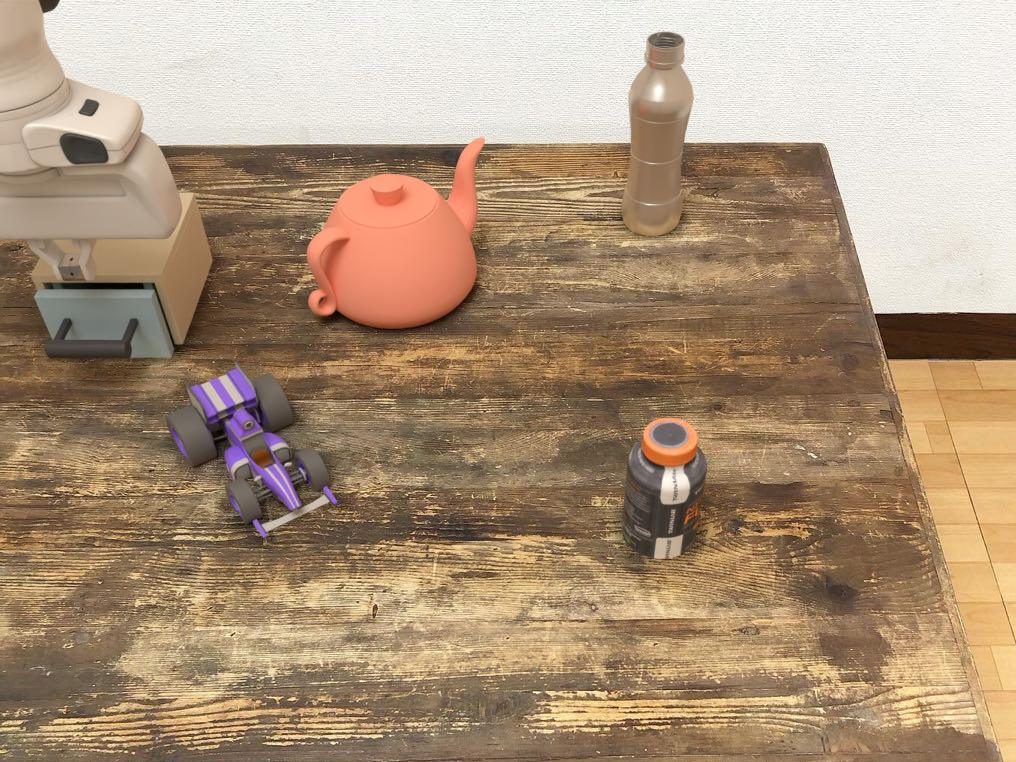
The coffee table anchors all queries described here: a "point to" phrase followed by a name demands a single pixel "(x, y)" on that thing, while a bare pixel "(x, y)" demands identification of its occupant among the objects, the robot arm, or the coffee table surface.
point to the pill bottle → (664, 490)
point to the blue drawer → (104, 321)
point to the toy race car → (248, 443)
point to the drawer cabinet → (152, 266)
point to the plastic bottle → (657, 137)
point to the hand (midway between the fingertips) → (78, 277)
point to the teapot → (397, 249)
